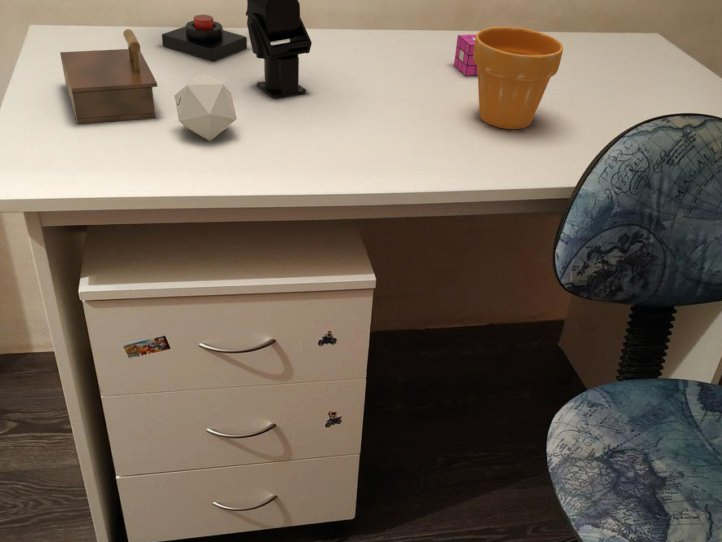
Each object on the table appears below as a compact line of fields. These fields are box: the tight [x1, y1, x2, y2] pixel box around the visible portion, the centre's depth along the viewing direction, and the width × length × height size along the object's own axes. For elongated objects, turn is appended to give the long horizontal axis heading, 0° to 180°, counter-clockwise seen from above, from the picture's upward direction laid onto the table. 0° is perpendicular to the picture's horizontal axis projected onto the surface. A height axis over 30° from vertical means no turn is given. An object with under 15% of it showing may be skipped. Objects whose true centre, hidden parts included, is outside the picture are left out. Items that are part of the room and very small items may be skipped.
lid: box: [59, 28, 158, 92], centre depth 124 cm, size 12×16×5 cm
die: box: [174, 73, 238, 142], centre depth 121 cm, size 8×9×10 cm
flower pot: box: [473, 26, 564, 130], centre depth 133 cm, size 14×14×13 cm
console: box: [161, 20, 248, 63], centre depth 150 cm, size 12×10×4 cm
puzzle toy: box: [453, 34, 478, 77], centre depth 153 cm, size 6×6×6 cm
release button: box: [193, 14, 215, 29], centre depth 149 cm, size 4×4×2 cm
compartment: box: [60, 57, 156, 125], centre depth 127 cm, size 12×16×5 cm
